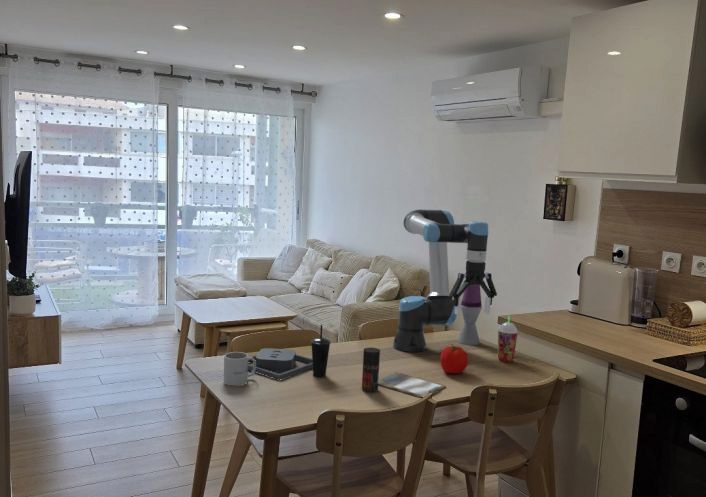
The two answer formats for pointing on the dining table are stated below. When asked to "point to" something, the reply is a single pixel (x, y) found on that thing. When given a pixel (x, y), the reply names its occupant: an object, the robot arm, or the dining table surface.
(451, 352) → the tomato
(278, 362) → the streaming box
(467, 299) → the lamp
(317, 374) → the drinking cup
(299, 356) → the frame
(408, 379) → the silver rectangular panel
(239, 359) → the mug
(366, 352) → the deodorant
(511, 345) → the smoothie
